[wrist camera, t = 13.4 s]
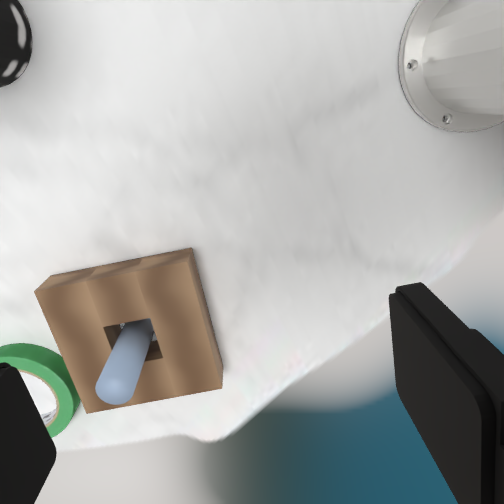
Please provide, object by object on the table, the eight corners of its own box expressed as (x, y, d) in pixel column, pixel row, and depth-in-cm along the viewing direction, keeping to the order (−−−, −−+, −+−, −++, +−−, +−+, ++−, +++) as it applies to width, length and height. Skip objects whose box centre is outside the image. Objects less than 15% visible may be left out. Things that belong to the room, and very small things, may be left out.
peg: (150, 308, 41) (127, 370, 32) (159, 333, 42) (138, 400, 33) (122, 314, 41) (89, 378, 32) (131, 339, 42) (102, 407, 33)
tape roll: (10, 436, 46) (-2, 455, 44) (-44, 359, 42) (-61, 375, 40) (99, 409, 45) (91, 427, 43) (52, 328, 42) (40, 343, 39)
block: (191, 247, 39) (187, 261, 35) (223, 366, 44) (222, 388, 40) (50, 275, 39) (34, 291, 36) (97, 390, 44) (86, 413, 41)
